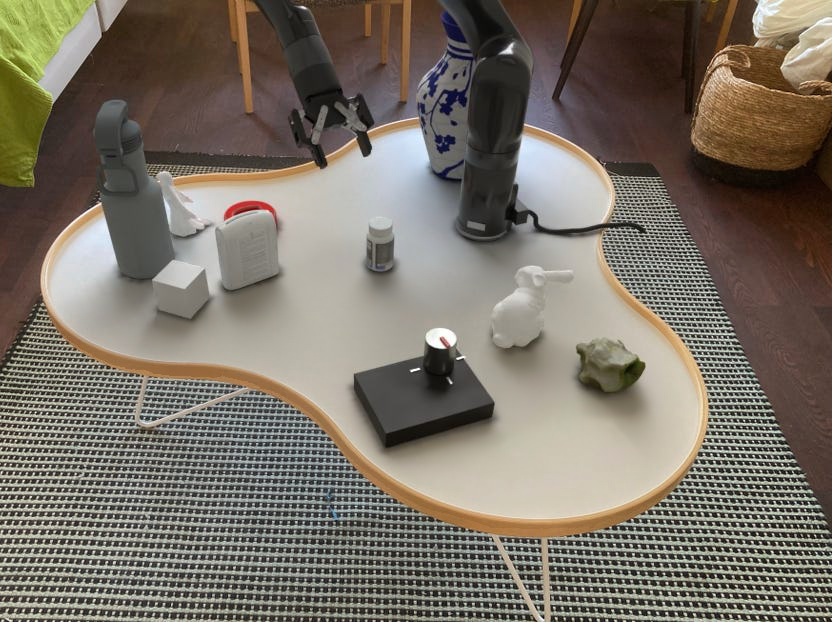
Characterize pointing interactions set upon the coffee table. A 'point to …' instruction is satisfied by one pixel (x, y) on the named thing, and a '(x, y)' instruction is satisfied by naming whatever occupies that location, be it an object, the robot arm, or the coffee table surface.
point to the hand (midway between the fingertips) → (346, 161)
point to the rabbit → (524, 307)
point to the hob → (421, 399)
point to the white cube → (181, 288)
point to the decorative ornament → (249, 209)
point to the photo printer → (247, 248)
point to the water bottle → (130, 195)
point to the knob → (439, 351)
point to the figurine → (179, 208)
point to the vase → (447, 104)
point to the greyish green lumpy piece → (608, 365)
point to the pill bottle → (380, 244)
